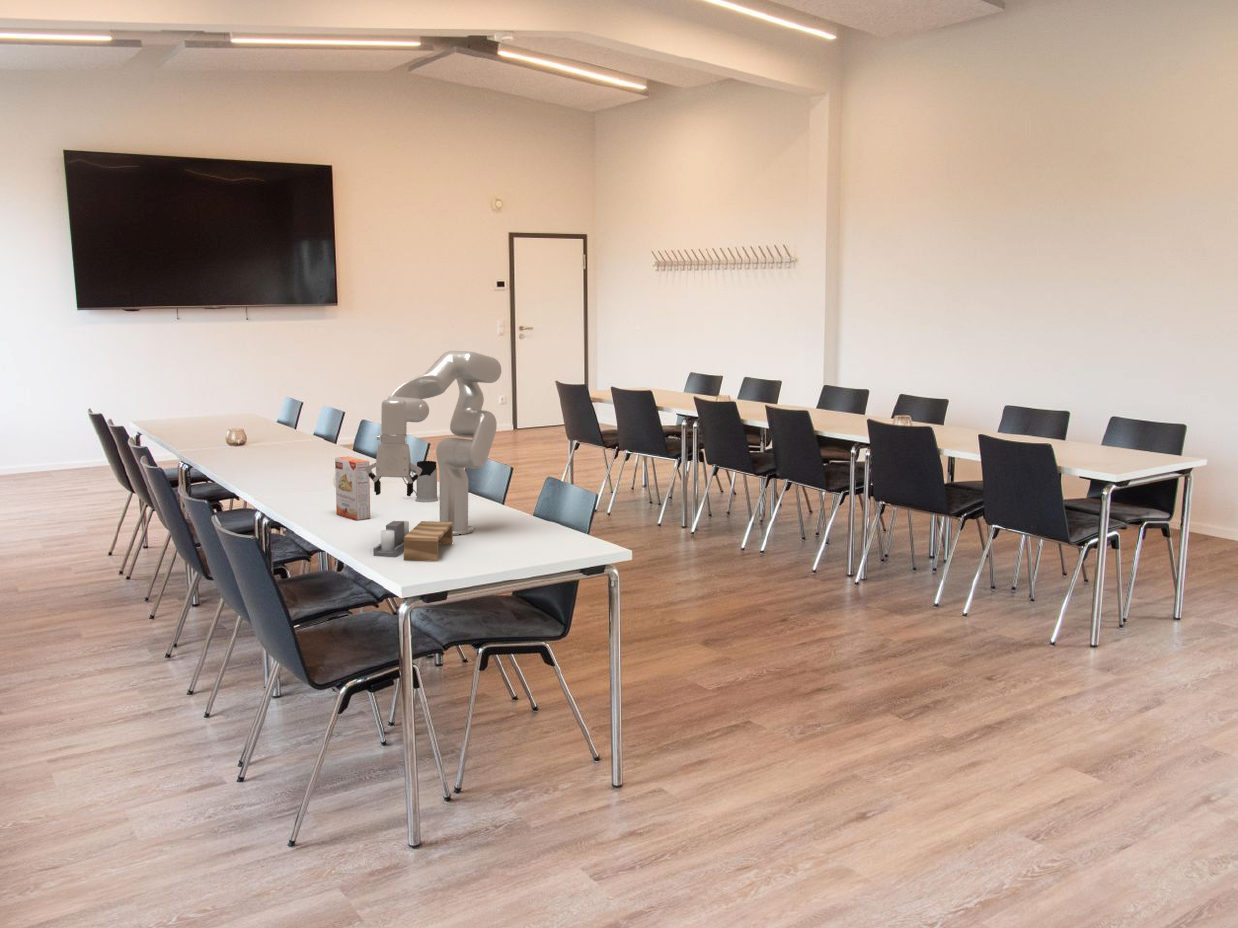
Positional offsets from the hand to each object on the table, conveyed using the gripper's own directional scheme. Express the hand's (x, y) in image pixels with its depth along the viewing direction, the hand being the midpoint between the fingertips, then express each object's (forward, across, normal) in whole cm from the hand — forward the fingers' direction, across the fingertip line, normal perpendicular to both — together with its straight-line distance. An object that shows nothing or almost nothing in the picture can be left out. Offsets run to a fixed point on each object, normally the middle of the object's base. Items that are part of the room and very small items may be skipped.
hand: (393, 495), depth 327 cm
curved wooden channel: (+17, +11, -1) cm, 21 cm away
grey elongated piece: (+17, 0, +1) cm, 17 cm away
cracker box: (+17, -27, +49) cm, 58 cm away
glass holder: (+16, -11, +85) cm, 87 cm away
